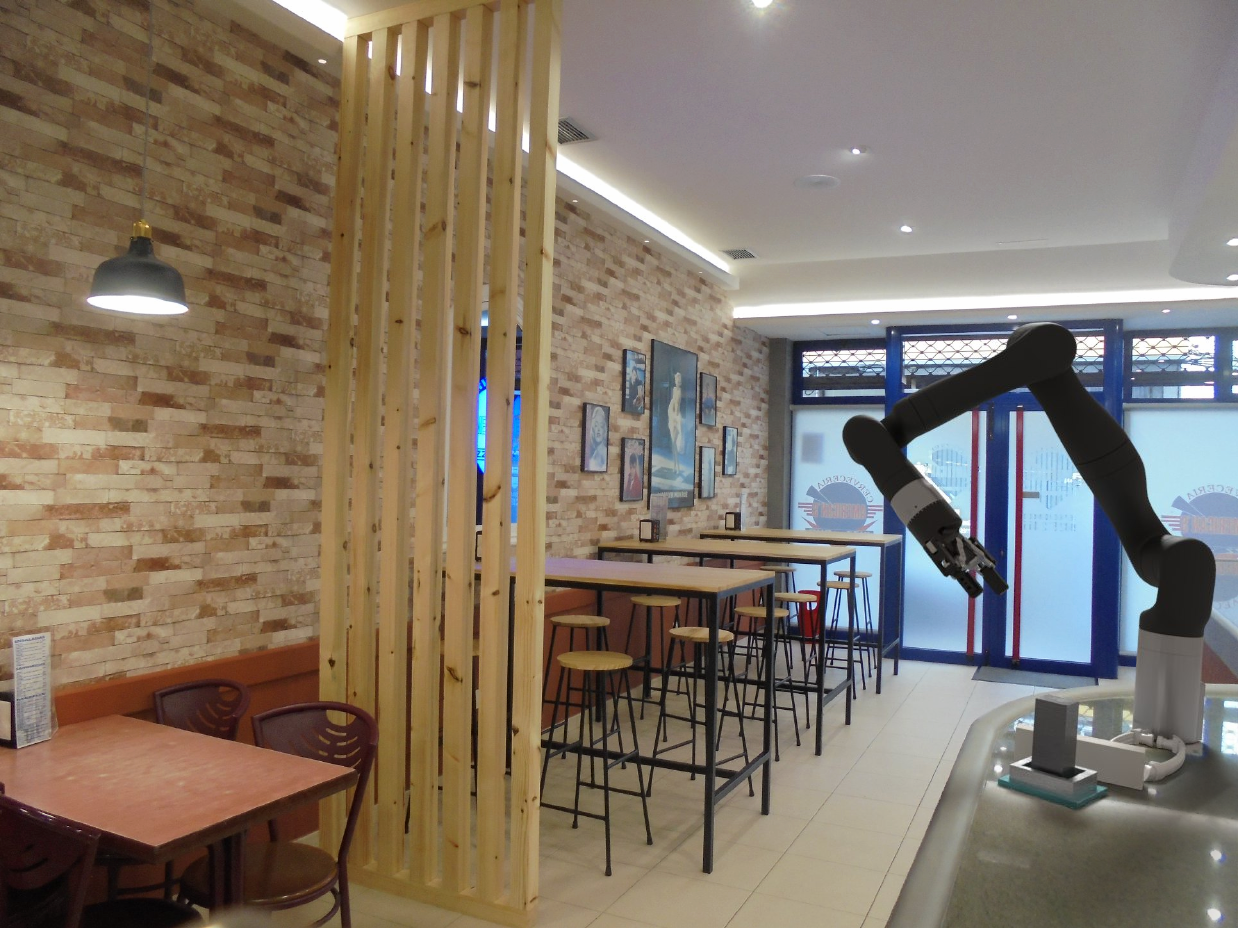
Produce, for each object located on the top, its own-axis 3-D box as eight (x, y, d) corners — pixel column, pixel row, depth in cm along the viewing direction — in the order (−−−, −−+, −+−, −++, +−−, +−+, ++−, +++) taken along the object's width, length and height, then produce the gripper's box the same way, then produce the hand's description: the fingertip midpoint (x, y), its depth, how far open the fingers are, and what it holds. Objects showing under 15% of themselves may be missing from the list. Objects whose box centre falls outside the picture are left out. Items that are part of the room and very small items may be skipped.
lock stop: (1042, 775, 121) (1048, 694, 121) (1073, 784, 118) (1079, 701, 118) (1030, 780, 118) (1035, 697, 118) (1061, 790, 115) (1067, 705, 115)
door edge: (1013, 761, 128) (1016, 727, 128) (1017, 756, 131) (1019, 722, 131) (1142, 790, 120) (1144, 752, 120) (1143, 784, 122) (1145, 747, 122)
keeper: (1030, 770, 125) (1031, 750, 125) (1107, 793, 117) (1108, 772, 117) (997, 784, 118) (999, 763, 118) (1076, 809, 111) (1078, 787, 111)
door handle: (1196, 754, 140) (1165, 790, 122) (1125, 738, 147) (1086, 770, 128) (1197, 737, 140) (1167, 770, 122) (1126, 722, 147) (1087, 751, 128)
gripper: (919, 497, 138) (988, 581, 129) (962, 498, 148) (1029, 576, 139) (886, 528, 142) (952, 611, 133) (931, 527, 151) (994, 604, 143)
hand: (991, 593), depth 136 cm, fingers open, 8 cm apart
